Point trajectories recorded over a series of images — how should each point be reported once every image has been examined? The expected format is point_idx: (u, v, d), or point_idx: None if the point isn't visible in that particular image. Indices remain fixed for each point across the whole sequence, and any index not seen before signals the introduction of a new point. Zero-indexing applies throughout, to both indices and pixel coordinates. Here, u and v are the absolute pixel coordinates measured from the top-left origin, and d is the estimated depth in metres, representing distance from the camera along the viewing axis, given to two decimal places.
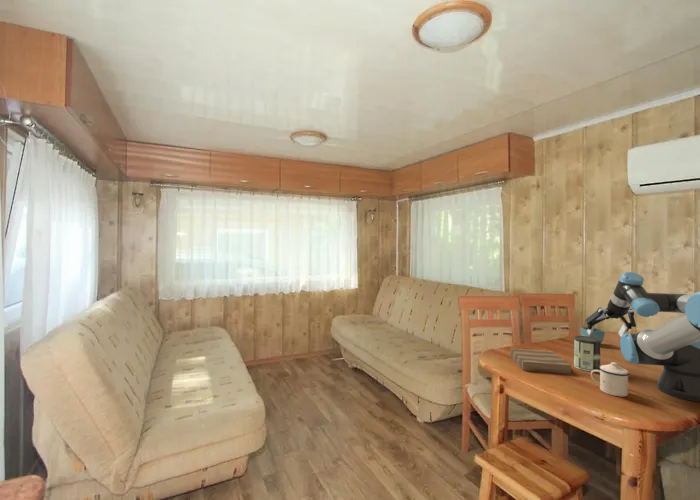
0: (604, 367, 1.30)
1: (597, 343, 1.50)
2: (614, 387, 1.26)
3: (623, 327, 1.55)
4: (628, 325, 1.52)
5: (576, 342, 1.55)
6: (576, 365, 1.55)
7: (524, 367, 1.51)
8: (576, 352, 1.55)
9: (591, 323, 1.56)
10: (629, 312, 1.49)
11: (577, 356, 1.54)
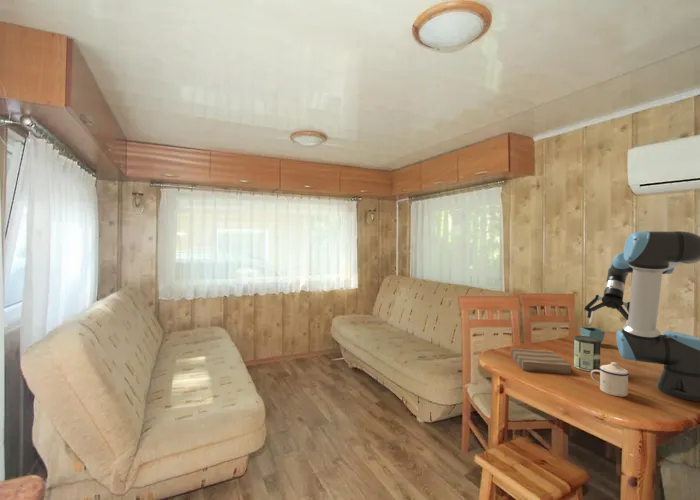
0: (604, 367, 1.30)
1: (597, 343, 1.50)
2: (614, 387, 1.26)
3: (626, 323, 1.53)
4: None
5: (576, 341, 1.55)
6: (576, 365, 1.55)
7: (524, 367, 1.51)
8: (576, 352, 1.55)
9: (589, 308, 1.61)
10: (626, 303, 1.57)
11: (577, 356, 1.54)
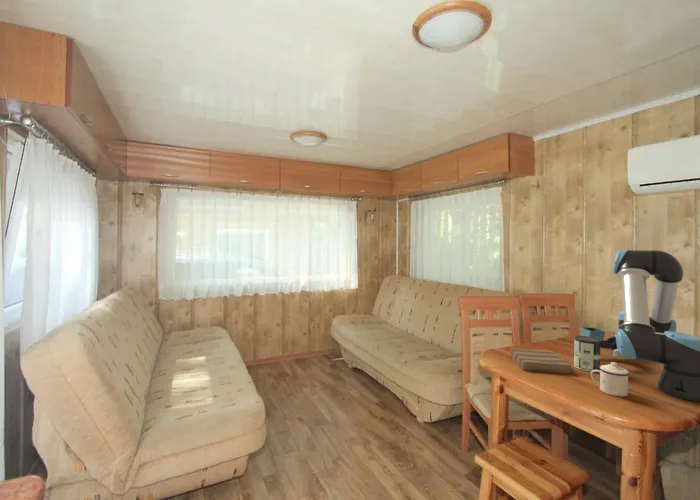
0: (604, 367, 1.30)
1: (597, 343, 1.50)
2: (614, 387, 1.26)
3: None
4: None
5: (576, 342, 1.55)
6: (576, 365, 1.55)
7: (524, 367, 1.51)
8: (576, 352, 1.55)
9: None
10: None
11: (577, 356, 1.54)
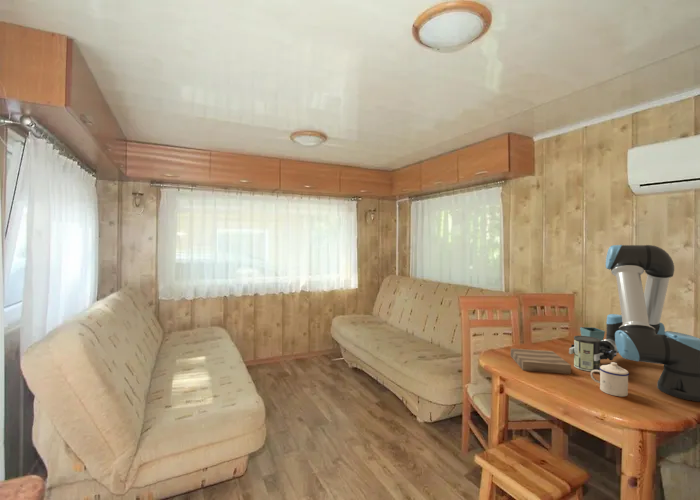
0: (604, 367, 1.30)
1: (597, 343, 1.50)
2: (614, 387, 1.26)
3: None
4: None
5: (576, 342, 1.55)
6: (576, 365, 1.55)
7: (524, 367, 1.51)
8: (576, 352, 1.55)
9: None
10: None
11: (577, 356, 1.54)
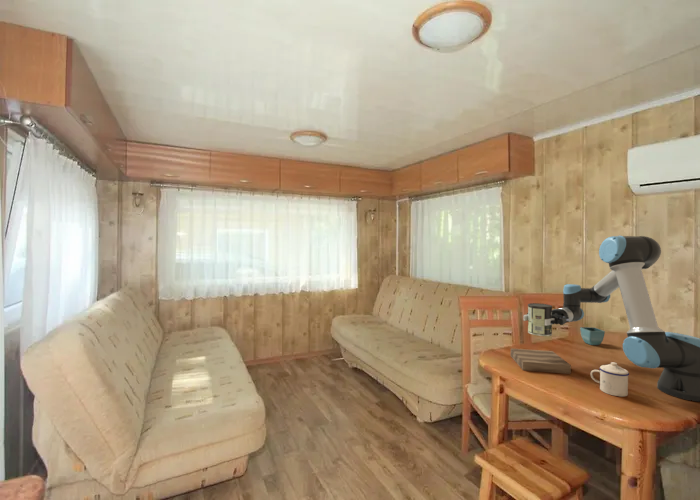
0: (604, 367, 1.30)
1: (548, 308, 1.54)
2: (614, 387, 1.26)
3: None
4: (556, 318, 1.56)
5: (529, 308, 1.59)
6: (529, 331, 1.59)
7: (524, 367, 1.51)
8: (529, 318, 1.59)
9: None
10: None
11: (530, 322, 1.58)
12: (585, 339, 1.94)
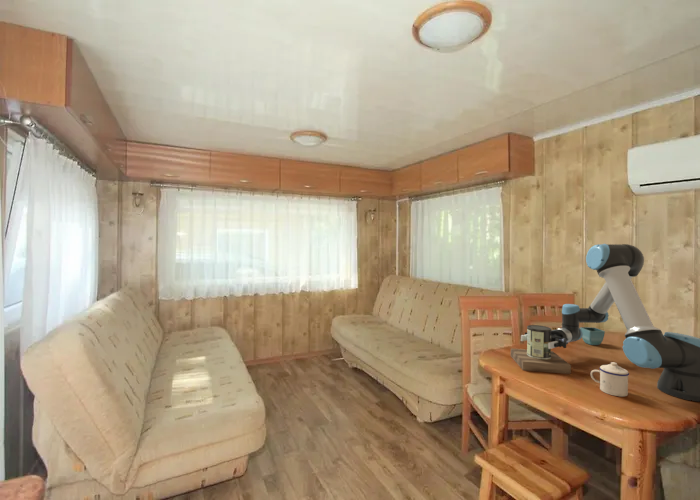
0: (604, 367, 1.30)
1: (547, 331, 1.54)
2: (614, 387, 1.26)
3: None
4: None
5: (528, 330, 1.59)
6: (528, 353, 1.59)
7: (524, 367, 1.51)
8: (528, 341, 1.59)
9: None
10: (564, 339, 1.60)
11: (529, 344, 1.58)
12: (585, 339, 1.94)
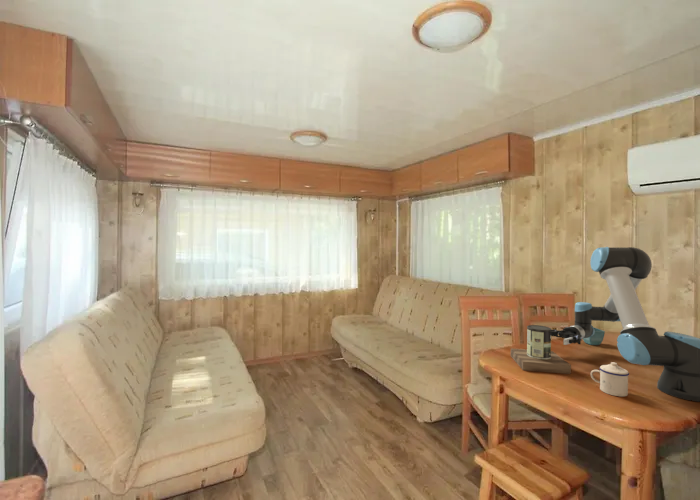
0: (604, 367, 1.30)
1: (547, 331, 1.54)
2: (614, 387, 1.26)
3: None
4: None
5: (528, 330, 1.59)
6: (528, 353, 1.59)
7: (524, 367, 1.51)
8: (528, 341, 1.59)
9: None
10: None
11: (529, 344, 1.58)
12: (585, 339, 1.94)
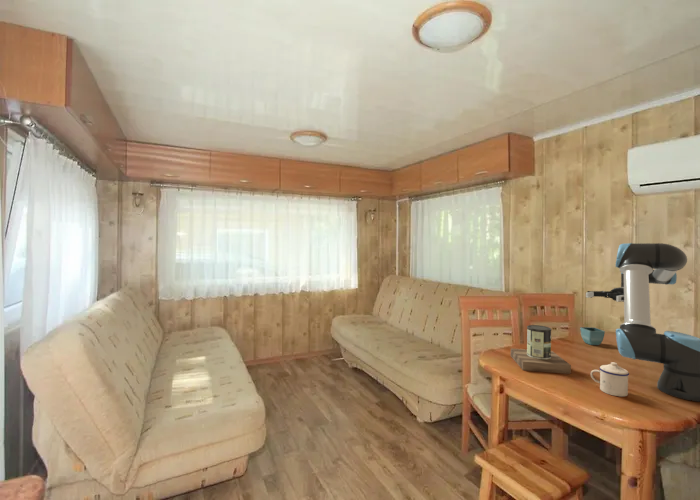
0: (604, 367, 1.30)
1: (547, 331, 1.54)
2: (614, 387, 1.26)
3: None
4: None
5: (528, 330, 1.59)
6: (528, 353, 1.59)
7: (524, 367, 1.51)
8: (528, 341, 1.59)
9: (591, 292, 1.78)
10: None
11: (529, 344, 1.58)
12: (585, 339, 1.94)
